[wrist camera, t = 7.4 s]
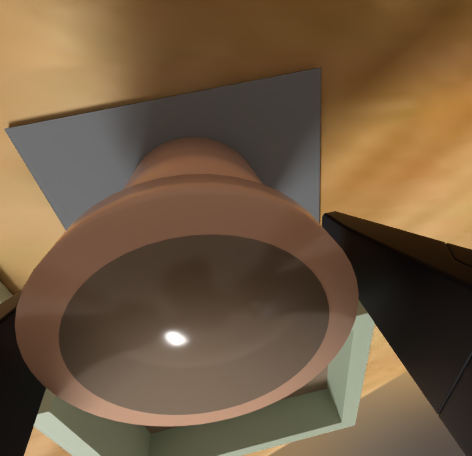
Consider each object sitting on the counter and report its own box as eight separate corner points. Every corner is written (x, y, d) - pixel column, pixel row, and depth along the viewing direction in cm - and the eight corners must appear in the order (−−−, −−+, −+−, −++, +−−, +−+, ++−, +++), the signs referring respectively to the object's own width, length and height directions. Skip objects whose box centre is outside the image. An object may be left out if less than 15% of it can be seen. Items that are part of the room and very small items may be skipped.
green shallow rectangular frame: (347, 274, 16) (389, 326, 13) (336, 387, 23) (361, 439, 20) (60, 341, 15) (22, 417, 12) (142, 437, 23) (134, 501, 19)
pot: (261, 108, 10) (380, 153, 4) (275, 247, 14) (348, 389, 8) (86, 142, 10) (-100, 254, 4) (147, 276, 13) (110, 452, 7)
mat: (318, 67, 10) (321, 67, 10) (317, 249, 15) (318, 251, 15) (7, 128, 9) (4, 129, 9) (109, 297, 14) (108, 300, 14)
